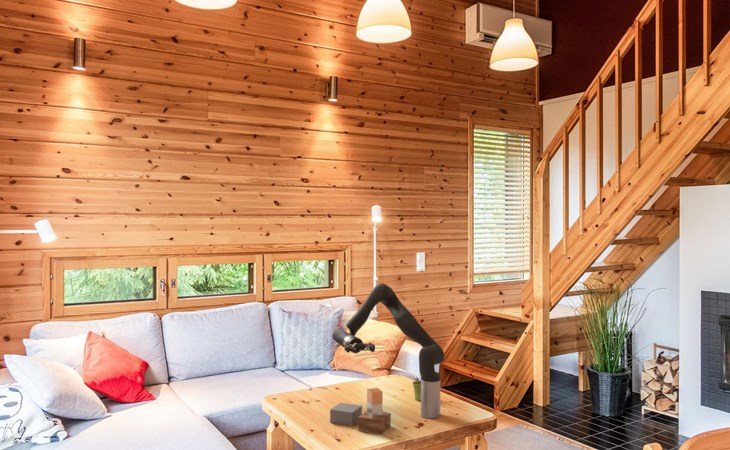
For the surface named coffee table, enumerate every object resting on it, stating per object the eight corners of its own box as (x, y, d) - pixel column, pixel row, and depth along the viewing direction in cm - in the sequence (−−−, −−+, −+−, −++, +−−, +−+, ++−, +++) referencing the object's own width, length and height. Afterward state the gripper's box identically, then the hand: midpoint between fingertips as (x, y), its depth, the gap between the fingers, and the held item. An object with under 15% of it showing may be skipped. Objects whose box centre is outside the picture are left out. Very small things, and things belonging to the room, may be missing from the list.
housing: (377, 412, 269) (377, 388, 269) (382, 416, 264) (382, 391, 263) (367, 413, 267) (367, 389, 267) (371, 417, 262) (372, 392, 262)
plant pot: (420, 395, 315) (420, 379, 315) (433, 399, 308) (434, 383, 308) (408, 399, 308) (408, 382, 308) (422, 403, 302) (422, 386, 301)
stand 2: (368, 422, 273) (368, 409, 273) (390, 426, 268) (390, 412, 268) (358, 430, 263) (358, 416, 263) (381, 434, 258) (381, 420, 258)
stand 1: (340, 415, 283) (340, 402, 283) (361, 418, 278) (361, 405, 278) (330, 422, 273) (330, 409, 273) (351, 425, 268) (351, 412, 268)
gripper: (339, 337, 290) (350, 343, 275) (366, 335, 295) (379, 341, 280) (339, 352, 290) (350, 359, 275) (366, 350, 295) (379, 357, 280)
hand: (365, 350), depth 278 cm, fingers open, 8 cm apart
